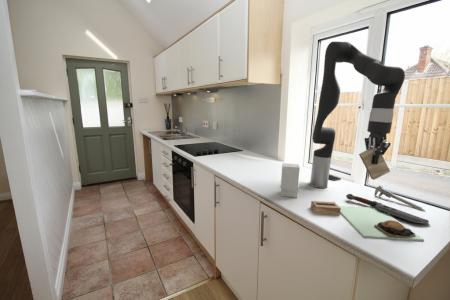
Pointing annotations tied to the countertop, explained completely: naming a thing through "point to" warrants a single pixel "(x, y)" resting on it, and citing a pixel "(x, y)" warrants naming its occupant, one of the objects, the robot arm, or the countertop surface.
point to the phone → (333, 178)
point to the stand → (325, 207)
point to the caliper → (395, 197)
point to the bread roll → (394, 229)
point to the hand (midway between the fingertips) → (372, 163)
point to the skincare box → (289, 180)
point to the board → (373, 169)
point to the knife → (388, 210)
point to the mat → (370, 222)
